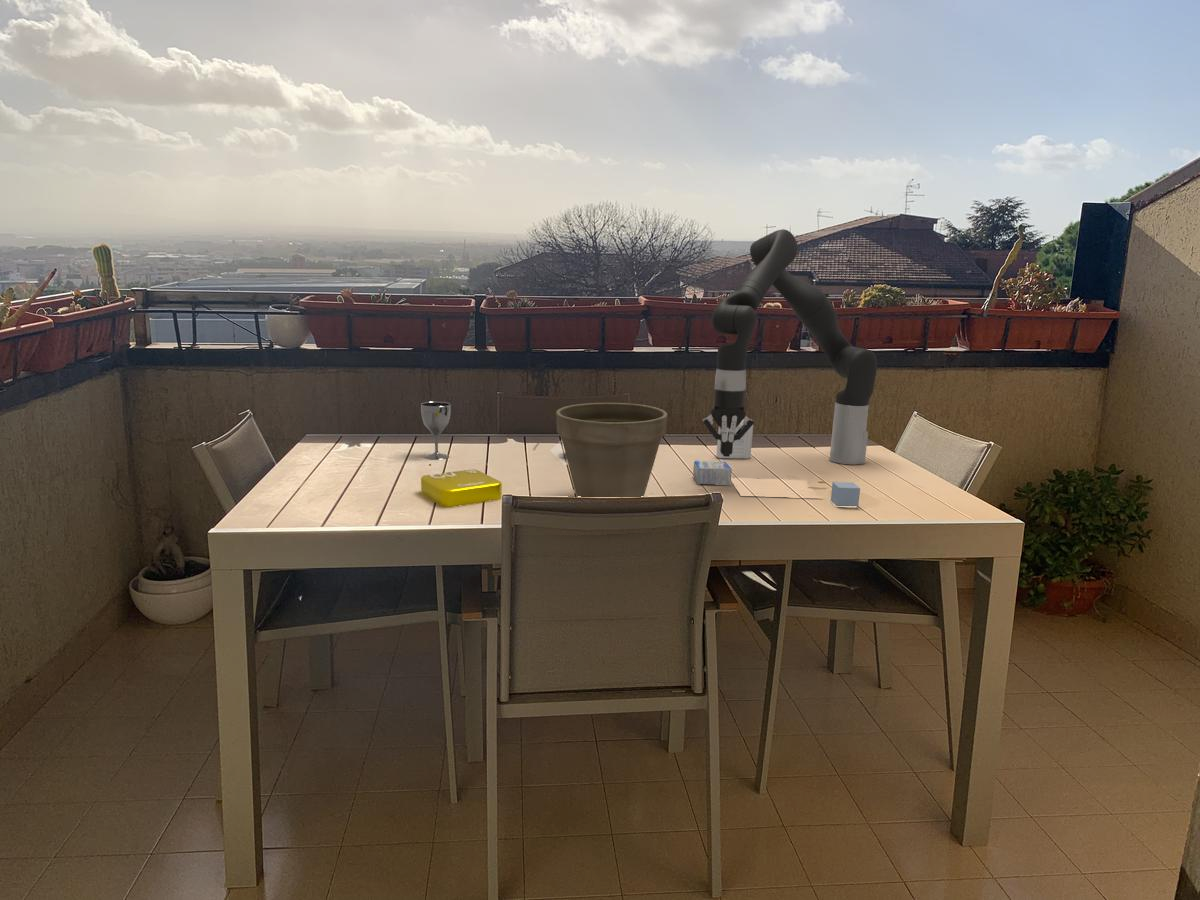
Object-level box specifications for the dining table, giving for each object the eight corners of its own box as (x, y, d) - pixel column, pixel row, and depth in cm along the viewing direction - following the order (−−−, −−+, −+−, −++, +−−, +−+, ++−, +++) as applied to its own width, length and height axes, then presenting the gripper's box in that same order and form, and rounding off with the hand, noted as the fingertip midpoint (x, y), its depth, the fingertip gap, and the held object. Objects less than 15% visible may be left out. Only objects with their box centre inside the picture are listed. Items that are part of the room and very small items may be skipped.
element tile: (444, 510, 171) (444, 489, 170) (418, 493, 183) (417, 473, 182) (504, 500, 179) (504, 480, 178) (476, 485, 191) (476, 466, 190)
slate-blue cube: (851, 502, 186) (853, 482, 185) (858, 508, 181) (860, 488, 180) (830, 502, 186) (832, 481, 185) (836, 508, 181) (838, 487, 180)
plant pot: (544, 515, 168) (545, 417, 163) (564, 485, 192) (566, 399, 187) (658, 524, 165) (664, 424, 160) (665, 492, 189) (670, 404, 184)
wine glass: (416, 458, 214) (415, 404, 211) (432, 452, 221) (431, 400, 218) (440, 461, 211) (439, 407, 208) (456, 455, 218) (456, 403, 215)
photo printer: (748, 456, 230) (751, 415, 227) (752, 459, 226) (756, 417, 223) (714, 456, 228) (717, 414, 226) (718, 459, 224) (721, 417, 221)
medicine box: (732, 468, 196) (698, 467, 195) (730, 485, 197) (696, 484, 196) (726, 461, 203) (693, 460, 203) (725, 477, 204) (692, 476, 204)
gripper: (753, 385, 194) (749, 453, 198) (701, 384, 194) (697, 451, 198) (759, 390, 186) (755, 460, 190) (705, 389, 186) (701, 458, 190)
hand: (725, 455), depth 194 cm, fingers closed
